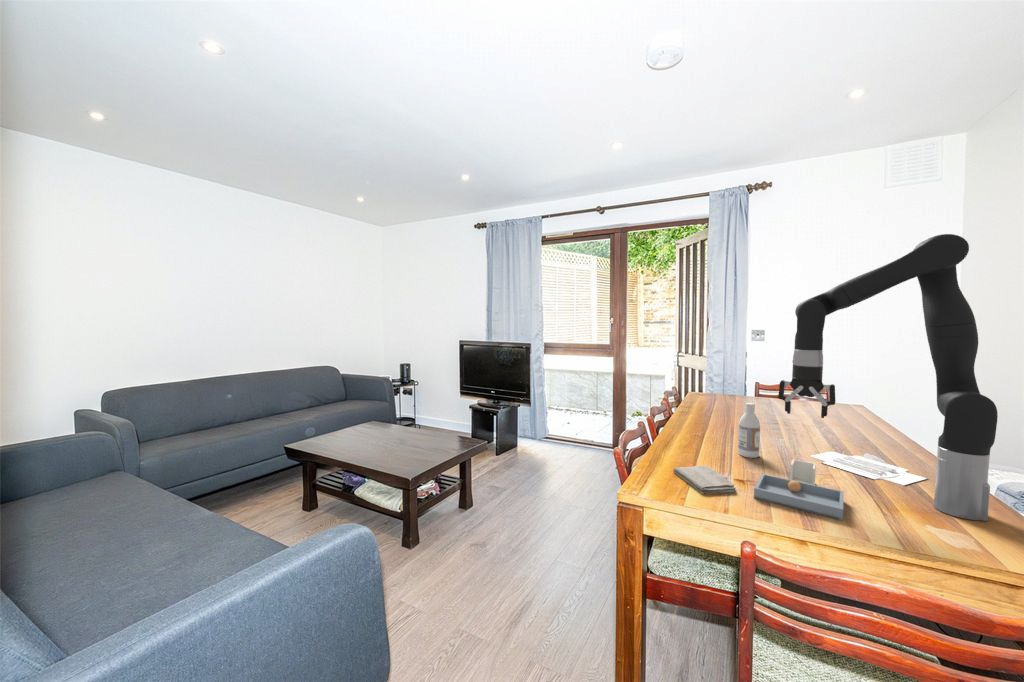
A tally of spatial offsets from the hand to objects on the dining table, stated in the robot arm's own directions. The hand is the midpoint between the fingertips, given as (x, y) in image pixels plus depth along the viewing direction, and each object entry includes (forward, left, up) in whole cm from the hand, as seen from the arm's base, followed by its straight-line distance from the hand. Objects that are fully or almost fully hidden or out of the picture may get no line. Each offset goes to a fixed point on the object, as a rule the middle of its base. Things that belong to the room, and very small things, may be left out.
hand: (805, 415), depth 124 cm
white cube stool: (0, 0, -22) cm, 22 cm away
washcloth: (+25, +18, -23) cm, 38 cm away
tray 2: (-15, -31, -23) cm, 42 cm away
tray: (0, +14, -22) cm, 26 cm away
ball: (+1, +10, -20) cm, 22 cm away
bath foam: (+18, -19, -22) cm, 34 cm away
